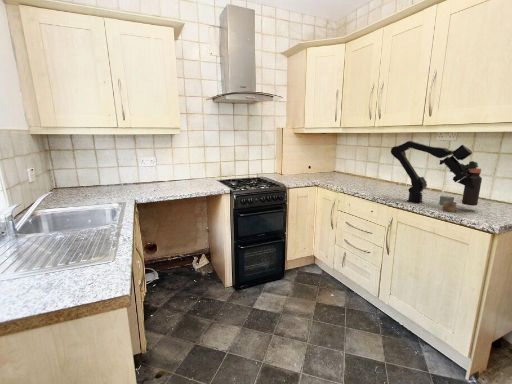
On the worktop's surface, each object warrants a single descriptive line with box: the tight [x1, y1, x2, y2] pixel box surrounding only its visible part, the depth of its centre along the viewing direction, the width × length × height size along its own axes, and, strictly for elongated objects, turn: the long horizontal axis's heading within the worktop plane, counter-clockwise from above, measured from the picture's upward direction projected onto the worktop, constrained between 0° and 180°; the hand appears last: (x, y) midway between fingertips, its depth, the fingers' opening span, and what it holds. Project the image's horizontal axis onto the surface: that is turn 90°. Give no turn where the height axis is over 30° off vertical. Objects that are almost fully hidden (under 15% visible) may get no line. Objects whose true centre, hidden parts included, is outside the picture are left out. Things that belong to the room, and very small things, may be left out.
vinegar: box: [461, 167, 483, 207], centre depth 145 cm, size 7×7×20 cm
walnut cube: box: [442, 201, 457, 214], centre depth 148 cm, size 5×5×5 cm
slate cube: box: [438, 195, 455, 206], centre depth 161 cm, size 5×5×5 cm
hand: (475, 187), depth 144 cm, fingers closed on vinegar, 6 cm apart
